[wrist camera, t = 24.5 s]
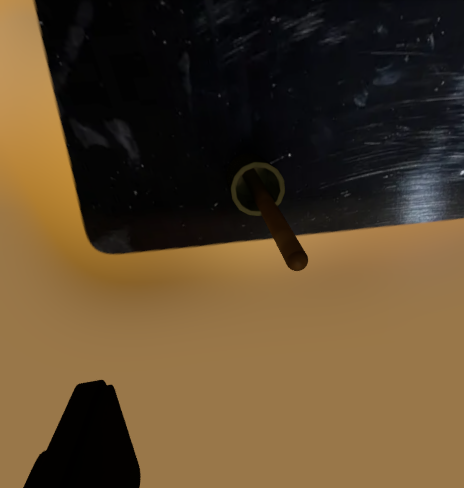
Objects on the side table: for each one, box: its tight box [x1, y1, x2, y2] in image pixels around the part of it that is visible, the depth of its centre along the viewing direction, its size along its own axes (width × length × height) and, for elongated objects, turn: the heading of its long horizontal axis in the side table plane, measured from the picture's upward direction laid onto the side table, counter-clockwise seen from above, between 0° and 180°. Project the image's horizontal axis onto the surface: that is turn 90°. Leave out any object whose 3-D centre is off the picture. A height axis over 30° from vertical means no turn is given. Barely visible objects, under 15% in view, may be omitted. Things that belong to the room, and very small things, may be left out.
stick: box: [242, 168, 308, 271], centre depth 30 cm, size 1×1×16 cm
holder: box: [226, 153, 285, 216], centre depth 34 cm, size 4×4×7 cm
